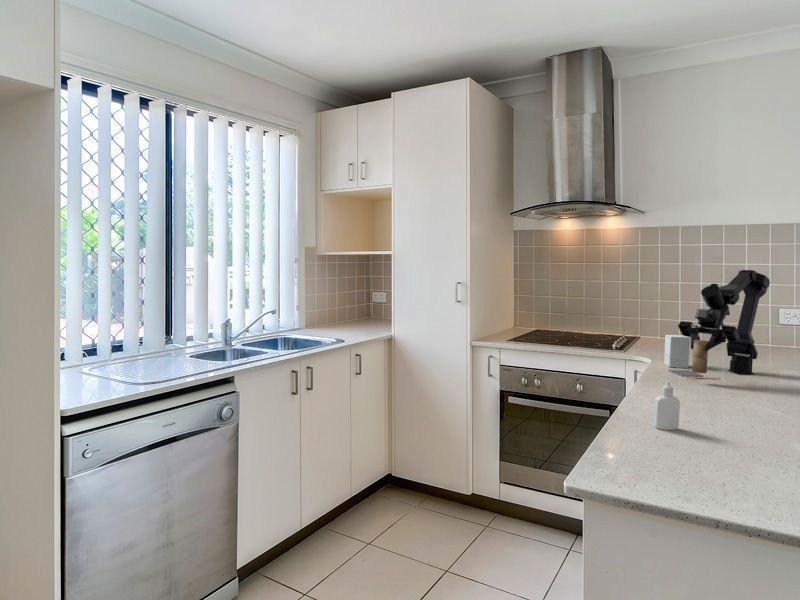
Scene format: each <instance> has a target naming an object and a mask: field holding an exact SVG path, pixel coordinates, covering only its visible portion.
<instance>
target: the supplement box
mask: <svg viewBox="0 0 800 600" xmlns="http://www.w3.org/2000/svg"><path fill="white" fill-rule="evenodd" d="M664 340H665V341H664V356H663V357H664V358H663V364H664V365H665V366H667V367H668V368H673V367H676V368H677V369H689V364H690V363H689V359H690V344H691V337H688V336H683V335H682V334H665V338H664ZM676 368H675V369H676Z"/></svg>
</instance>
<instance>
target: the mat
mask: <svg viewBox="0 0 800 600" xmlns="http://www.w3.org/2000/svg"><path fill="white" fill-rule="evenodd" d="M670 371H671V372H670ZM668 372H670V373H672V372H673V373H672V374H675V373H676V374H675V375H677V374H678V375H677V376H680V375H681V376H680V377H682V376H704V375H703V374H701V373H696V372H692V370H689V369H681V370H680V369H668Z"/></svg>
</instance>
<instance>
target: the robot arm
mask: <svg viewBox="0 0 800 600" xmlns="http://www.w3.org/2000/svg"><path fill="white" fill-rule="evenodd" d="M770 284H771V282H770V279H769V278H768V276H766V275H765V274H762V273H759V272H757V271H756V270H753V269H741V270H739V271H738V274H736V276H734V278H733V279H731V280H730V281H729V282H728V283H727V284H726V285H721V286H719V285H718V283H711V284H710V285H708V286H706V287H704V288H702V289H701V291H700V294H701V296H702V298H703V300H704V303H705V305H706V306H707V307H709V309H704V308H697V309H696V313H695V316H694V318H695V319H697V323H698V325H699V326H698V325H696V324H694V323H693V322H692V321H684V320H683V321H681V320H680V322H679V323H678V325H677V327H678V329H679V331H680V333H681V335H683V336H687V337H690V349H691V350H693V346H694V340H701V338H700V337H701V336H700V335H699V334H703V335H704V334H705V335H710V338H709V340H707V341H708V343H707V345H706V347H705V351H708V352H709V351H710V350H711V349H713V348H715V347H717V346H718V345H722V344H723V343H724V344H725V343H726V351H727V352H726V353H727V357H731V358H730V361H729V369H727V371H728V372H730V373H734V374H736V375H755V372H753V360H758V359H757V358H758V354H759V353H758V351H757V348H756V346H755V339H754V337H753V335H752V331H753V328H754V322H755V319H756V314H757V310H758V306H759V302H760V299H761V298H762V297H763V296H764V295H766V293H767V290H768V289H769V287H770ZM742 291H743V294H744V300H743V302H742V307H741V312H740V317H739V320H738V323H737V327H736V326H735V325H725V323H724V321H725V320H726V319H725V318H726V317H727V316H730V314H731V313H730V307H729V306H735V305H736V304H737V303H738V302H739V300H740V293H741V292H742Z"/></svg>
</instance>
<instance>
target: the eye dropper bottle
mask: <svg viewBox="0 0 800 600" xmlns="http://www.w3.org/2000/svg"><path fill="white" fill-rule="evenodd" d="M661 394H662V395H659V396H657V397H655V399H654V408H653V409H654V410H653V411H654V412H653V427H655V429H657V430H662V431H677V430H678V429H679V426H680V424H679V423H680V399H679V398H677V397H675V396H674V387H673V386H672V385H671V382H670V381H666V383H665V385H664V386H663V385H662V392H661Z"/></svg>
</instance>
